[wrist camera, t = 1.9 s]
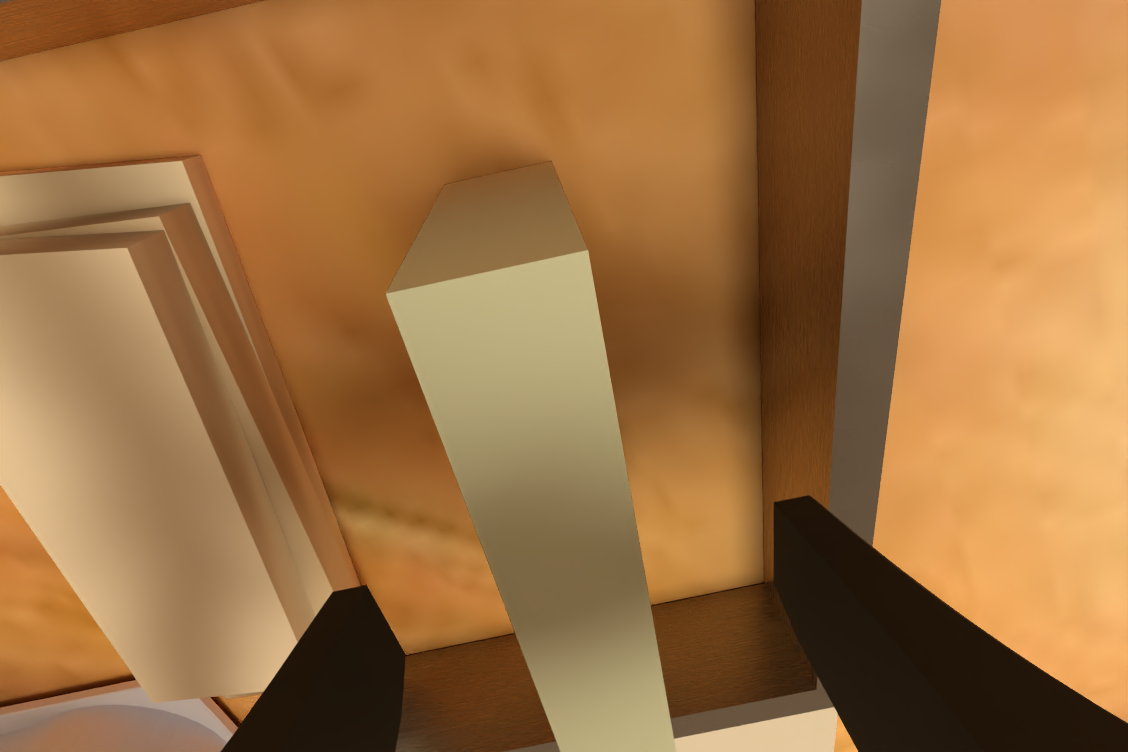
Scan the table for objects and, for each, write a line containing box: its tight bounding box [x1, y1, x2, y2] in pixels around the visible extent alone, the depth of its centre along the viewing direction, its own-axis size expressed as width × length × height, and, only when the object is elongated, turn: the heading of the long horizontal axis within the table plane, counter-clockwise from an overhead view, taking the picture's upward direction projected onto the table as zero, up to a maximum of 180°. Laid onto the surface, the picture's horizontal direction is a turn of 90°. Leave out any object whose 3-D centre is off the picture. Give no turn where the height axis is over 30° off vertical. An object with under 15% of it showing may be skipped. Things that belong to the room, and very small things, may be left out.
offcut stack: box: [0, 155, 361, 703], centre depth 15 cm, size 6×16×4 cm, turn 4°
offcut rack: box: [0, 0, 941, 752], centre depth 14 cm, size 18×22×4 cm
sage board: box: [386, 161, 676, 752], centre depth 13 cm, size 2×12×7 cm, turn 11°
